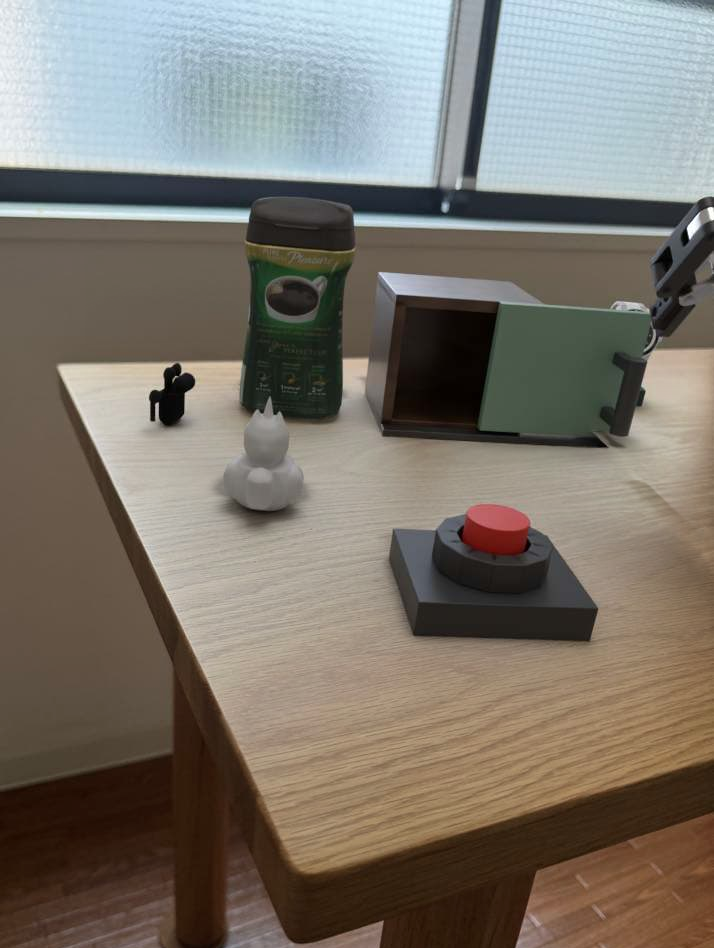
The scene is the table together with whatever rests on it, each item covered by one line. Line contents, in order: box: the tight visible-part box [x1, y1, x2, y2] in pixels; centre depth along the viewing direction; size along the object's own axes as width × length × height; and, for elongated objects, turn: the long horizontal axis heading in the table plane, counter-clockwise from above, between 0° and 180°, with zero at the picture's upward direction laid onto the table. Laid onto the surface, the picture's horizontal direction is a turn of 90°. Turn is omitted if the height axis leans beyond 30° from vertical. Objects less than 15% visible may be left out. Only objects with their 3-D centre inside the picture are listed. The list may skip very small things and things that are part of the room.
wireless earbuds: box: [148, 362, 196, 426], centre depth 73 cm, size 7×2×5 cm, turn 162°
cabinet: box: [364, 271, 610, 449], centre depth 79 cm, size 22×13×12 cm, turn 94°
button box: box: [388, 513, 599, 642], centre depth 50 cm, size 10×9×4 cm
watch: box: [610, 300, 664, 408], centre depth 85 cm, size 6×8×11 cm
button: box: [462, 503, 531, 556], centre depth 49 cm, size 4×4×2 cm
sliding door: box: [477, 301, 651, 438], centre depth 73 cm, size 13×5×11 cm, turn 94°
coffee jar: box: [238, 196, 357, 421], centre depth 76 cm, size 10×8×19 cm
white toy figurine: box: [223, 397, 305, 512], centre depth 58 cm, size 5×7×8 cm
